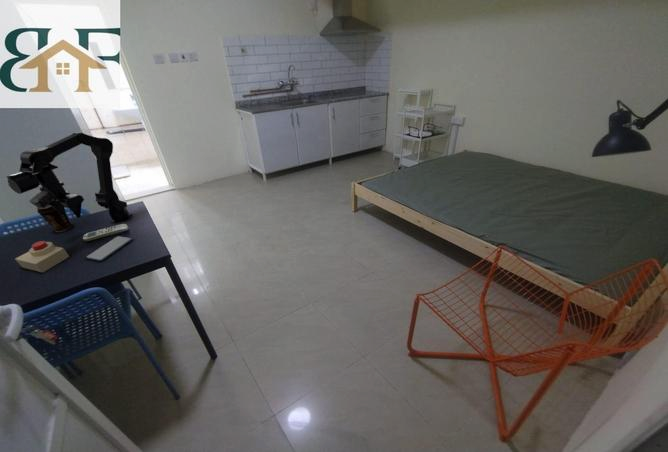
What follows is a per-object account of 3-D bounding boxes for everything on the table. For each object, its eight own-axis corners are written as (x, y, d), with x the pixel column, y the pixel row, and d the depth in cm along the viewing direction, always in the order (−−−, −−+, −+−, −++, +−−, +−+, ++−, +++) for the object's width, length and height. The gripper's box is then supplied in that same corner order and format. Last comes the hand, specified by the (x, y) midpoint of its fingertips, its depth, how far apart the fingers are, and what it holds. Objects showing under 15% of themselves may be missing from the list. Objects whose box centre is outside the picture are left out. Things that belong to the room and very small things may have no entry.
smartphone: (85, 257, 113) (117, 235, 125) (86, 258, 114) (118, 237, 125) (100, 260, 111) (132, 238, 123) (101, 262, 112) (133, 239, 123)
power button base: (49, 252, 118) (40, 239, 115) (69, 256, 115) (60, 244, 112) (22, 267, 110) (11, 254, 107) (42, 272, 107) (32, 259, 104)
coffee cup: (56, 226, 136) (39, 202, 129) (76, 221, 139) (61, 198, 132) (49, 235, 129) (32, 211, 122) (71, 230, 132) (55, 206, 125)
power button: (43, 244, 113) (40, 240, 112) (50, 245, 112) (47, 241, 111) (32, 250, 110) (28, 246, 108) (39, 251, 109) (35, 247, 107)
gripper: (10, 188, 107) (35, 223, 116) (42, 194, 102) (66, 229, 111) (43, 177, 116) (64, 209, 124) (74, 181, 111) (94, 215, 119)
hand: (71, 216), depth 119 cm, fingers open, 9 cm apart
